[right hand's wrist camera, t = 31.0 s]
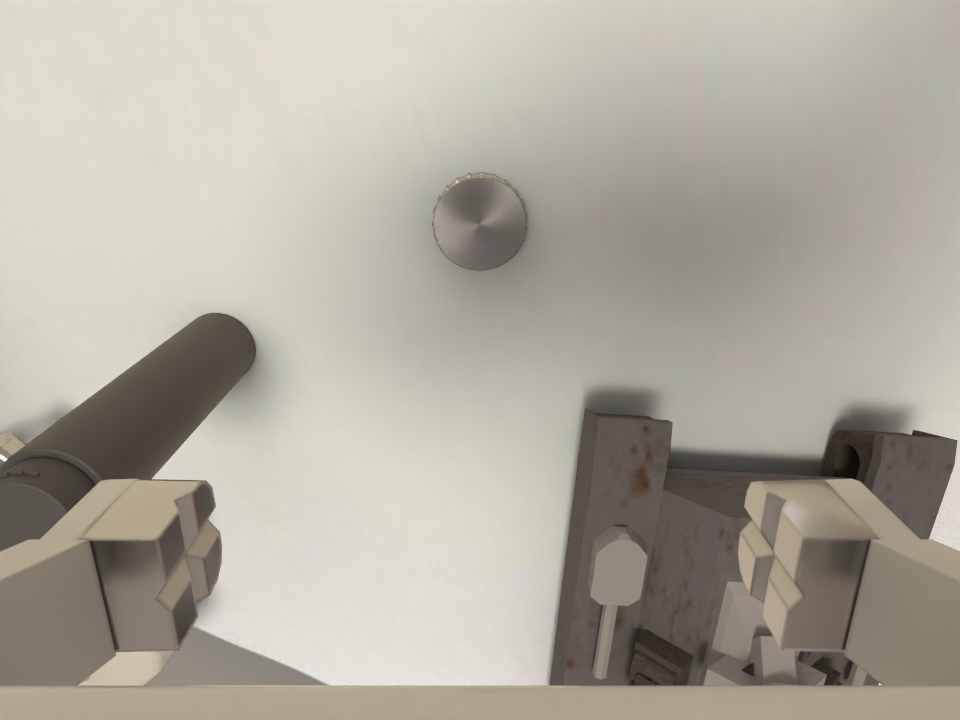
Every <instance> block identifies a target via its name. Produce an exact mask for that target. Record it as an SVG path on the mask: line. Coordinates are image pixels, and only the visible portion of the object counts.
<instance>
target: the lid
mask: <svg viewBox="0 0 960 720" xmlns="http://www.w3.org/2000/svg"><path fill="white" fill-rule="evenodd" d="M438 200H439V201H438V204H437V206H436V207H435V208H434V211H433V212H434V218H433V223H432V225H433V229H434V235H435V236H434V237H435V238H436V241H437V243H438V245H439V247H440V249H441V250H442V252H443V253H444V254H445V255H446V256H447V257H448V258H449V259H450V260H451V261H452V262H454V263H455V264H457V265H459V266H461V267H464V268H467V269H470V270H489V269H493V268H496V267H498V266H500V265H502V264H504V263H506V262H507V261H508V260H510V259H511V258H512V257H513V256H514V255H515V253H517V251H518V249H519V248H520V246H521V244H522V242H523V241H524V240H523V239H524V236H525V232H526V230H527V227H526V217H527V214H526V212H525V211H524V208H523V204H524V203H523V201H522V199H520V198H519V196H518V195H517V191H516V189H515V188H514V189H513V188H512V187H511V186H510V185H509V184H508V183H507V181H506V180H502V179H500V178H498V177H496V175H495V174H493V175H490V174H484V173H483V172H481V173H476V174H470V173H468V175H466V176H463V177H461V178H456V181H454V182H453V183H452V184H450V185H449V186H448V185H447V186H446V190H445V191H444V192H443V194H442V195H440V196H439V198H438Z"/></svg>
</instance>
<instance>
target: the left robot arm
mask: <svg viewBox="0 0 960 720" xmlns="http://www.w3.org/2000/svg"><path fill="white" fill-rule="evenodd" d="M25 445H26V444H24V443H23V442H22V441H20V440H19V439H18V438H16V437H15V436H13V435H12V434H11V433H9V432H8V431H7V432H5V433H3V434H2V435H0V467H1V466H2V464H3V463H4V462H5V461H6V460H7V459H8V458H9V457H10V456H12V455H13V454H14V453H16V452H17V451H18V450H20V449H21V448H22V447H24V446H25ZM173 653H174V651H145V652H116V656H115V657H114V658H112V659H111V660H110V661H108V662H107V663H106V664H104V665H103V666H102V667H101V668H99V669H98V670H97V671H95V672H94V673H93V674H91V675H90V676H89V677H87V678H86V679H85V680H84V681H82V682H81V683H80V684H78V685H77V686H145V685H146V684H147V683H149V682H150V681H151V680H152V679H153V678H155V677H156V676H157V675H158V674H159V673H160V672H161V671H162V670H163V669H164V667H165V666H166V664H167V663H168V661H169V660H170V658H171V656H172V655H173Z"/></svg>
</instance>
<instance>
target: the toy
mask: <svg viewBox="0 0 960 720" xmlns="http://www.w3.org/2000/svg"><path fill="white" fill-rule="evenodd" d="M671 434H672V422H670V421H668V420H655V419H652V418H651V417H645V416H628V415H611V414H594V413H593V412H591V411H590V410H588V409H585V415H584V422H583V430H582V438H581V445H580V453H579V461H578V469H577V477H576V484H575V492H574V500H573V508H572V516H571V523H570V531H569V539H568V547H567V555H566V562H565V570H564V578H563V586H562V594H561V602H560V609H559V617H558V625H557V633H556V641H555V648H554V656H553V664H552V672H551V680H550V686H784V685H878V684H879V682H878V681H877V680H875V679H874V678H873V677H871V676H870V675H869V674H868V673H866V672H865V671H864V670H862V669H861V668H860V667H858V666H857V665H856V664H855V663H853V662H852V661H851V660H849V659H848V658H847V657H845V656H844V652H814V651H781V649H780V647H779V645H778V644H777V642H776V640H775V638H774V637H773V635H772V633H771V631H770V629H769V628H768V626H767V624H766V622H765V621H764V619H763V617H762V614H763V608H764V603H762V602H760V601H759V600H757V599H756V598H754V597H753V596H751V595H750V594H749V592H748V590H747V588H746V586H745V584H744V582H743V579H742V576H741V573H740V569H739V559H738V545H739V537H740V532H741V530H742V529H743V528H744V527H745V526H746V525H747V524H748V523H749V522H750V521H751V520H752V518H751V516H750V515H749V513H748V512H747V510H746V509H745V507H744V504H745V498H746V492H747V490H748V488H749V485H750V483H751V482H755V481H781V480H822V479H824V480H827V479H851V478H852V479H854V480H857V481H860V482H861V483H862V484H863V485H865V486H866V487H867V488H868V489H869V490H870V491H871V492H872V493H873V494H874V495H875V496H876V497H877V498H878V499H879V500H880V501H881V502H882V503H883V504H884V505H885V506H886V507H887V508H888V509H889V510H890V511H891V512H892V513H893V514H895V515H896V516H897V517H898V518H899V519H900V520H901V521H902V522H903V523H904V524H905V525H906V526H907V527H908V528H909V529H910V530H911V531H912V532H913V533H914V534H915V535H916V536H917V537H918V538H919V539H929V537H930V534H931V531H932V528H933V525H934V522H935V519H936V516H937V514H938V511H939V508H940V505H941V502H942V499H943V496H944V493H945V490H946V487H947V485H948V482H949V479H950V476H951V473H952V470H953V467H954V464H955V455H956V447H957V440H953V439H949V438H946V437H941V436H937V435H933V434H929V433H925V432H921V431H917V430H913V433H912V435H909V434H904V433H889V432H872V431H855V430H841V431H838V432H837V433H835V434H834V436H833V438H832V440H831V444H830V448H829V451H828V455H827V459H826V462H825V466H824V470H823V474H822V476H807V475H789V474H772V473H754V472H736V471H719V470H701V469H684V468H667V463H668V458H669V452H670V445H671Z"/></svg>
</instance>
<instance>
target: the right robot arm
mask: <svg viewBox="0 0 960 720" xmlns="http://www.w3.org/2000/svg"><path fill="white" fill-rule="evenodd" d="M215 507H216V504H215V499H214V494H213V489H212V486H211V485H210V484H209V483H208V482H207V481H204V480H152V479H142V480H139V479H109V480H102V481H100V482H99V483H98V484H97V485H96V486H95V487H94V488H93V489H92V490H91V491H89V492H88V493H87V494H86V495H85V496H84V497H83V498H82V499H81V500H80V501H79V502H78V503H77V504H76V505H75V506H74V507H73V508H72V509H71V510H70V511H69V512H68V513H67V514H66V515H65V516H64V517H62V518H61V519H60V520H59V521H58V522H57V523H56V524H55V525H54V526H53V527H52V528H51V529H50V530H49V531H48V532H47V533H46V534H45V535H44V536H43V537H42V538H41V539H29V540H26V541H24V542H22V543H19V544H17V545H15V546H12V547H10V548H7V549H5V550H3V551H0V720H960V552H959V551H957V550H955V549H952V548H950V547H948V546H945V545H943V544H941V543H938V542H936V541H934V540H931V539H919V538H918V537H917V536H916V535H915V534H914V533H913V532H912V531H911V530H910V529H909V528H908V527H907V526H906V525H905V524H904V523H903V522H902V521H901V520H900V519H899V518H898V517H897V516H896V515H895V514H893V513H892V512H891V511H890V510H889V509H888V508H887V507H886V506H885V505H884V504H883V503H882V502H881V501H880V500H879V499H878V498H877V497H876V496H875V495H874V494H873V493H872V492H871V491H870V490H869V489H868V488H867V487H866V486H865V485H863V484H862V483H861V482H860V481H857V480H854V479H852V478H851V479H827V480H824V479H822V480H781V481H755V482H751V483H750V485H749V488H748V490H747V492H746V498H745V504H744V507H745V509H746V510H747V512H748V513H749V515H750V516H751V518H752V520H751V521H750V522H749V523H748V524H747V525H746V526H745V527H744V528H743V529H742V530H741V532H740V537H739V545H738V559H739V569H740V573H741V576H742V579H743V582H744V584H745V586H746V588H747V590H748V592H749V594H750V595H751V596H753V597H754V598H756V599H757V600H759V601H760V602H762V603H764V608H763V614H762V617H763V619H764V621H765V622H766V624H767V626H768V628H769V629H770V631H771V633H772V635H773V637H774V638H775V640H776V642H777V644H778V645H779V647H780V649H781V651H814V652H844V656H845V657H847V658H848V659H849V660H851V661H852V662H853V663H855V664H856V665H857V666H858V667H860V668H861V669H862V670H864V671H865V672H866V673H868V674H869V675H870V676H871V677H873V678H874V679H875V680H877V681H878V682H879V683H881V684H882V685H784V686H77V685H78V684H80V683H81V682H82V681H84V680H85V679H86V678H87V677H89V676H90V675H91V674H93V673H94V672H95V671H97V670H98V669H99V668H101V667H102V666H103V665H104V664H106V663H107V662H108V661H110V660H111V659H112V658H114V657H115V656H116V652H145V651H178V650H179V649H180V647H181V645H182V644H183V642H184V640H185V638H186V637H187V635H188V633H189V631H190V630H191V628H192V626H193V624H194V622H195V621H196V619H197V617H198V614H197V608H196V603H198V602H200V601H201V600H203V599H204V598H206V597H207V596H209V595H210V594H211V592H212V590H213V588H214V586H215V584H216V582H217V580H218V575H219V571H220V567H221V563H222V543H221V536H220V532H219V530H218V529H217V528H216V527H215V526H214V525H213V524H212V523H211V522H210V521H209V520H208V518H209V516H210V515H211V513H212V512H213V510H214V509H215Z"/></svg>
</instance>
